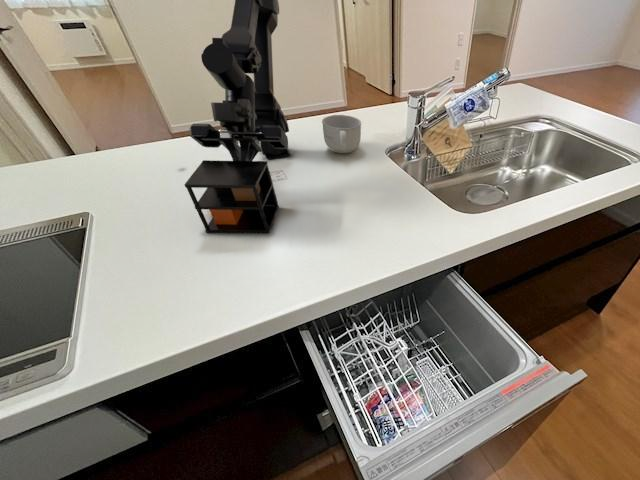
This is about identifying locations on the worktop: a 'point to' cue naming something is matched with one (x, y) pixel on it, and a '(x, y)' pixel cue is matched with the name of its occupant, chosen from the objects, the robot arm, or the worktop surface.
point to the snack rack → (235, 196)
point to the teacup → (342, 133)
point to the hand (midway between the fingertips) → (241, 176)
